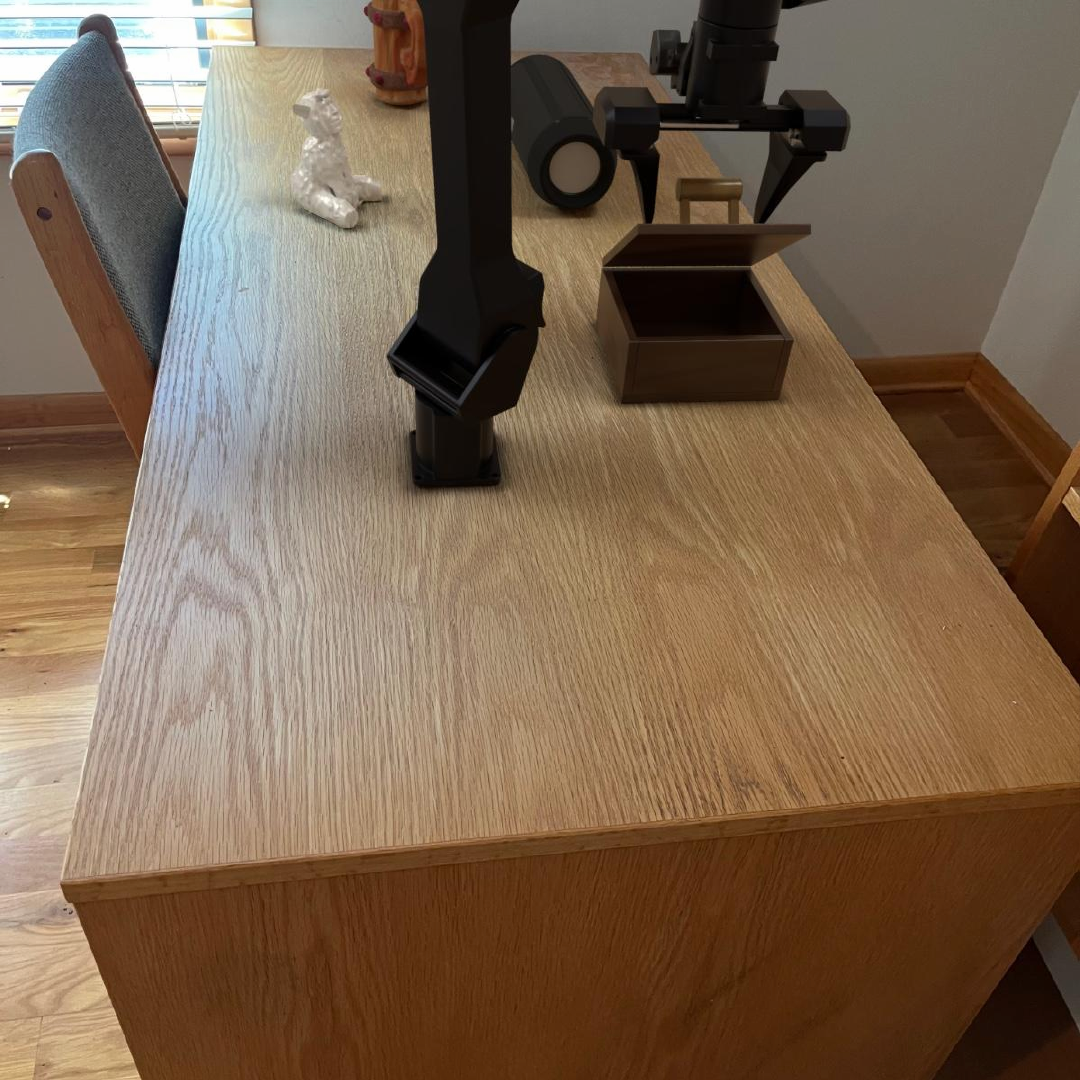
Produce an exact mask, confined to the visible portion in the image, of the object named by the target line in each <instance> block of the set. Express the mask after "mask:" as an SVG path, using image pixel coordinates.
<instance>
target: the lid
mask: <svg viewBox="0 0 1080 1080" xmlns="http://www.w3.org/2000/svg"><path fill="white" fill-rule="evenodd" d="M743 186H744V184H743V180H742V178H741V177H698V176H697V177H692V176H691V177H686V176H685V177H683V176H680V177H678V178H677V179H676V181H675V191H674V193H675V194H674V195H675V200H676V202H678V208H679V211H678V213H679V215H678V216H679V223H652V224H644V223H637V224H636V225H634V227H633V228H632V229H631V230H629V232H627V234H626V235H625V236H624V237H623V238H621V239H620V240H619V241H618V242H617V243H616V244H615V245H614V246H613V247H612V248H611V249H610V250H609V251H608V252H607V253H606V254H605V255H604V256H603V257H601V265H602V266H601V268H640V267H752V266H754V265H756V264H758V263H761V262H762V261H764V260H766V259H767V258H769V257H771V256H773V255H775V254H777V253H778V252H781V251H782V250H784V249H786V248H788V247H790V246H792V245H793V244H795V243H797V242H799V241H800V240H801V241H802V240H803V239H805V238H807V237H808V236H810V235H812V223H765V224H753V223H740V201H741V199H742V196H743V188H744V187H743ZM693 202H695V203H697V202H698V203H699V202H700V203H701V202H703V203H705V202H706V203H707V202H709V203H710V202H711V203H713V202H714V203H717V202H719V203H720V202H721V203H723V202H724V203H725V202H726V203H727V223H691V203H693Z"/></svg>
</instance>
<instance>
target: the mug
mask: <svg viewBox="0 0 1080 1080" xmlns="http://www.w3.org/2000/svg"><path fill="white" fill-rule="evenodd" d="M363 13H364V15H365V16H366V17H367V18H368V20H369V22H370V23H371V24H372V35H373V51H374V52H373V53H374V57H373V58H374V62H372V63H371V64H370V65H369V66H367V68H366V69H365V74H366V76H367V77H368V78H369V80H370V81H369V82H370V83H371V84H372V85H373V86H374V87H375V92H376V95H377V98H378V100H379V101H381V102H382V103H385V104H388V105H392V106H395V105H397V106H405V105H406V106H407V105H409V106H410V105H415V104H419V103H421V102H423V101H425V100H426V99H427V88H428V85H427V69H426V52H425V36H424V22H423V17H422V13H421V10H420V7H419V5H418V3H417V1H416V0H371V1H369V2H368V3H367V5H366V6H364V7H363Z"/></svg>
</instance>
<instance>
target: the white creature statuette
mask: <svg viewBox="0 0 1080 1080" xmlns="http://www.w3.org/2000/svg"><path fill="white" fill-rule="evenodd" d="M291 110H292V111H291V112H292V113H293V114H294V115H296V116H298V119H299V120H300V123H301V124H302V126H303V128H304V129H305V131H306V133H308V136H307V138H305V139H304V142H303V143H302V145H301V149H302V150H301V153H300V159H301V160H300V162H299V163H298V166H297V167H296V169H295V171H294V172H292V173H291V177H292V178H291V179H290V183H291V187H292V192H293V195H294V196H295V200H296V201H297V203H298V204H299V205H301V206H302V207H303V209H304V210H306V211H308V213H310V214H314V215H316V216H318V217H319V218H322V219H324V220H326V221H328V222H329V223H331V224H333V225H336V226H338V227H339V228H343V229H350V228H352V229H353V228H354V227H355V226H356V225H357V223H358V221H359V213H358V211H357V209H358V208H360V206H361V204H362V203H364V202H382V201H383V200H382V199H383V197H382V195H383V194H382V181H379V180H376V179H373V178H372V177H369V175H367V174H362V175H361V174H354V175H352V169H351V168H350V164H349V163H348V158H349V157H348V156H347V152H346V151H345V150H346V147H345V145H344V143H343V142H342V139H343V138H342V134H341V133H342V132H343V130H344V129H343V126H342V122H343V116H342V114H341V111H340V109H339V107H338V104H337V102H336V98H335V97H334V96H333V95H331V90H330V89H328V88H322V87H317V88H316V90H315V91H309V92H307V93H305V94H304V95H303V96H301V100H300V101H299V102H295V103H293V104H292V107H291Z"/></svg>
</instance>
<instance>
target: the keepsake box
mask: <svg viewBox="0 0 1080 1080" xmlns="http://www.w3.org/2000/svg"><path fill="white" fill-rule="evenodd" d="M595 328H596V331H597V334H598V338H599V340H600V343H601V346H602V349H603V353H604V355H605V359H606V361H607V362H606V363H607V364H608V368H609V371H610V374H611V377H612V379H613V383H614V385H615V389H616V392H617V395H618V398H619V401H620V403H621V404H640V403H641V404H645V403H683V402H684V403H686V402H688V403H689V402H725V401H726V402H728V401H764V400H765V401H768V400H769V401H770V400H773V401H774V400H779V399H780V396H781V391H782V388H783V384H784V380H785V376H786V372H787V368H788V364H789V360H790V357H791V352H792V348H793V344H794V341H795V339H794V337H793V335H792V334H791V332H790V330H789V328H788V327H787V326H786V324H785V322H784V320H783V319H782V317H781V315H780V314H779V312H778V310H777V309H776V308H775V306H774V304H773V302H772V300H771V299H770V298H769V296H768V294H767V292H766V291H765V289H764V287H763V285H762V284H761V282H760V281H759V279H758V277H757V275H756V274H755V273H754V271H753V269H752V266H716V267H601V271H600V279H599V289H598V299H597V308H596V318H595Z"/></svg>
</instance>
